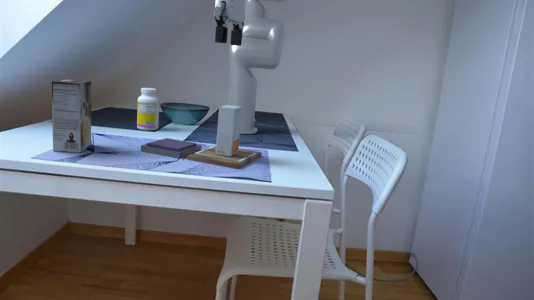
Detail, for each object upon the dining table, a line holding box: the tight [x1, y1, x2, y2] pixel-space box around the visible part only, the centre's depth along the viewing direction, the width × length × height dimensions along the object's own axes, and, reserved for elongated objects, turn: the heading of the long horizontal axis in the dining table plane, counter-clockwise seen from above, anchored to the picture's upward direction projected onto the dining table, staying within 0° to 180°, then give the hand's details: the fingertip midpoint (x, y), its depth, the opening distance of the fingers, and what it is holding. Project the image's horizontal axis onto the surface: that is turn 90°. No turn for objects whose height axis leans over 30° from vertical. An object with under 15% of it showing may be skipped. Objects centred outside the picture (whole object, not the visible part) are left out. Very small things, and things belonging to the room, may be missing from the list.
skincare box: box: [215, 104, 242, 156], centre depth 102 cm, size 6×4×12 cm
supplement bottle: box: [136, 87, 160, 131], centre depth 129 cm, size 7×7×13 cm
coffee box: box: [51, 78, 92, 153], centre depth 97 cm, size 9×6×16 cm
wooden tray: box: [187, 145, 263, 170], centre depth 103 cm, size 16×13×1 cm
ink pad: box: [140, 137, 203, 159], centre depth 105 cm, size 11×11×2 cm
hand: (228, 44), depth 113 cm, fingers open, 9 cm apart
